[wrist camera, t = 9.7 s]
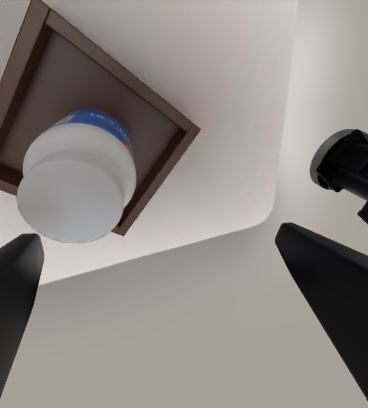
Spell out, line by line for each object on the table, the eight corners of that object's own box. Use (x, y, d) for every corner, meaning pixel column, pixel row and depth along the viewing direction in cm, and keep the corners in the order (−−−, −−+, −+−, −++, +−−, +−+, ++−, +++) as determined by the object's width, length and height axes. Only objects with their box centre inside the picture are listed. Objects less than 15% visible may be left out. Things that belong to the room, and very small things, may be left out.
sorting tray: (192, 122, 19) (201, 129, 16) (123, 220, 22) (123, 236, 20) (46, 5, 13) (33, -7, 11) (-17, 162, 16) (-37, 176, 14)
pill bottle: (145, 146, 18) (166, 208, 10) (98, 186, 19) (84, 273, 11) (92, 88, 15) (63, 109, 7) (39, 138, 16) (-42, 209, 8)
